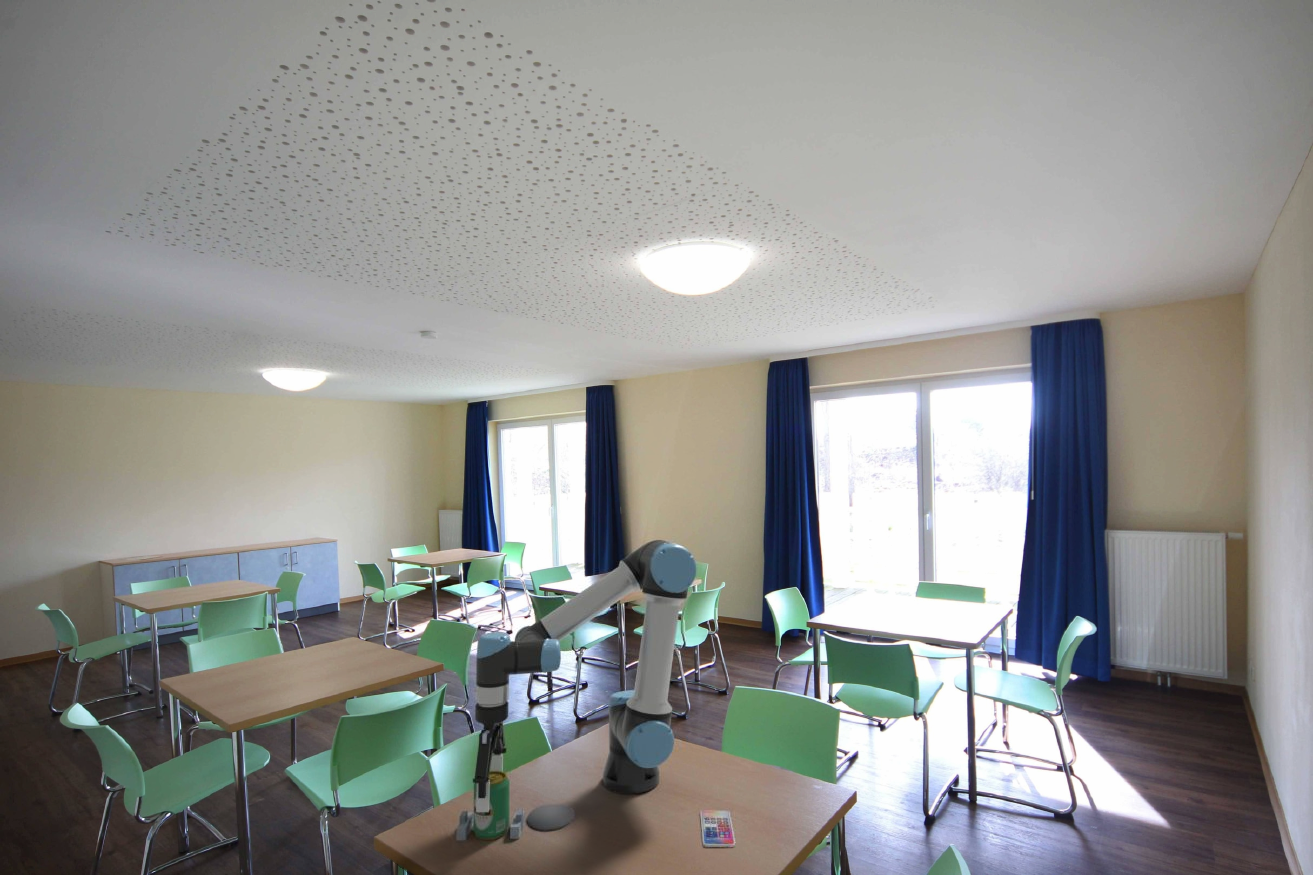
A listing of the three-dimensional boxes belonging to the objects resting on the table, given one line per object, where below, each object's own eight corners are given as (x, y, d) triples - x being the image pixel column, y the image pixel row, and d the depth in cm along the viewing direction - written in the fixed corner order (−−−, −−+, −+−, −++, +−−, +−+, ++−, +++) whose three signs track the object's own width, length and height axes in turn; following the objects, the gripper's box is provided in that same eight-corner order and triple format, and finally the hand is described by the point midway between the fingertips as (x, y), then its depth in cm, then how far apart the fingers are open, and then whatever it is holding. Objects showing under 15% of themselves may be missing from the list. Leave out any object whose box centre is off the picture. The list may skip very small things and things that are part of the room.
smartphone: (730, 809, 153) (736, 845, 138) (730, 814, 153) (736, 849, 138) (699, 809, 153) (702, 844, 138) (699, 813, 153) (702, 849, 138)
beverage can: (465, 836, 143) (466, 781, 144) (487, 819, 151) (488, 767, 152) (495, 843, 140) (495, 787, 141) (516, 825, 148) (516, 772, 149)
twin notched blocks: (524, 821, 149) (524, 804, 150) (519, 838, 142) (519, 819, 143) (465, 823, 149) (465, 806, 149) (456, 840, 142) (456, 821, 142)
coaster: (576, 805, 157) (576, 803, 157) (571, 829, 146) (571, 826, 146) (531, 806, 156) (531, 804, 156) (523, 831, 145) (523, 828, 145)
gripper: (488, 685, 160) (486, 772, 158) (461, 721, 135) (458, 824, 134) (518, 685, 160) (516, 772, 159) (496, 721, 136) (493, 824, 134)
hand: (489, 796), depth 146 cm, fingers open, 13 cm apart
